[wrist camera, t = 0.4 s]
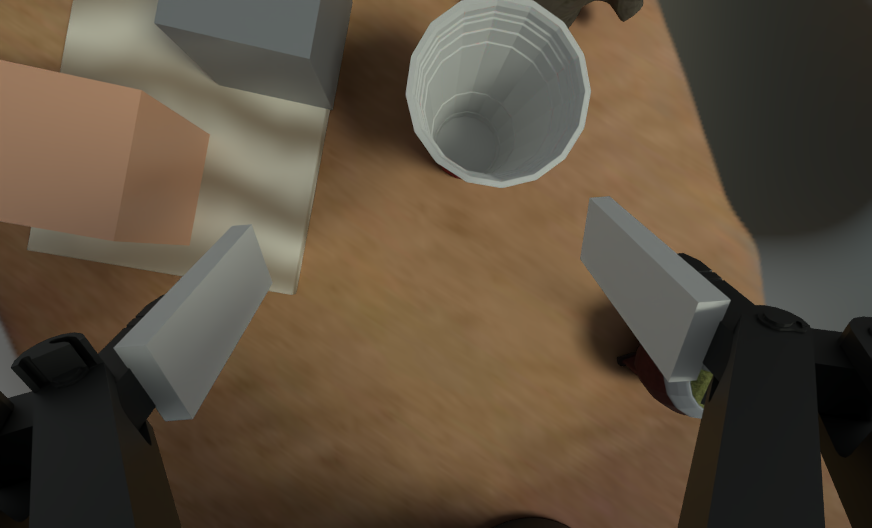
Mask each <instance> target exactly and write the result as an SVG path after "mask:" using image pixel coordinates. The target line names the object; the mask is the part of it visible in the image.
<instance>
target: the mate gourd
mask: <svg viewBox="0 0 872 528" xmlns="http://www.w3.org/2000/svg"><path fill="white" fill-rule="evenodd" d="M617 362H618V364H619V365H620V366H627V367H628V368H629V369H630V370H631V371H632V372H633V373H635V374H636V375H637V376H638V377H639V379H640V381H641V382H642V383H643V385H644V386H645V387H646V389H647V390H648V391H649V393H650V394H651V395H652V396H653V397H654V398H655V399H656V400H658V401H659V402H660V403H662V404H663V405H665V406H666V407H668V408H670V409H671V410H673V411H675V412H677V413H679V414H683V415H687V416H690V417H694V418H700V419H701V418H702V414H703V409H704V405H703V404H700V403H701V401H702V398H703V396H704V394H705V392H706V390H707V388H708V385H709V383H710V381H711V379H712V377H713V374H712V373H711V372H710V371H709V370H708V369H707V367H706V366H705V365H704V364H703V366H702V368H701V371H700V373H699V375H698V378H697V380H693V381H680V382H668V381H667V380H666V378H665V377H664V375H663V374H662V373H661V371H660V370H659V368H658V367H657V366H656V364H655V363H654V361H653V360H652V359H651V357H650V356H649V354H648V353H647V352H646V350H645V349H644V347H643V346H642V345H641V344H640V345H639V347H638V349H637V352H635V353H631V354H627V355H623V356H620V357H617Z"/></svg>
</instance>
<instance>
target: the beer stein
mask: <svg viewBox="0 0 872 528" xmlns="http://www.w3.org/2000/svg"><path fill="white" fill-rule="evenodd" d="M533 1H535V2H536V3H538V4H539V5H541V6H542V7H543V8H545V9H546V10H547V11H549V12H550V13H552V14H553V15H554V16H556V17H557V18H559V19H560V20H561V21H563V22H564V23H565V25H566V26H567V28H569V27H570V26H571V25H572V23H573V22H574V20H575V19H576V17H577V16H578V14H579V12H580V10H581V8H582V7H583V6H584V5H586V4H588V3H590V2H592V1H604V2H607V3H608V4H610V5H611V7H612V8H613V9H614V11H615V12H616V14H617V15H618V17H619V19H620V20H621V21H623V22H624V21H626V20H628V19H629V18H631V17H632V16H634V15H635V14H636V13H637V12H638V11H639V10H640V9H641V7H642V6H643V0H533Z"/></svg>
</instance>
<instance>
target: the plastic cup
mask: <svg viewBox="0 0 872 528" xmlns="http://www.w3.org/2000/svg"><path fill="white" fill-rule="evenodd" d="M590 94H591V89H590V84H589V78H588V73H587V68H586V62H585V57H584V54H583V52H582V50H581V49H580V47H579V46H578V44H577V42H576V41H575V39H574V37H573V36H572V34H571V33H570V31H569V29H568V28H567V26H566V25H565V23H564V22H563V21H561V20H560V19H559V18H557V17H556V16H554V15H553V14H552V13H550V12H549V11H547V10H546V9H545V8H543V7H542V6H541V5H539V4H538V3H536V2H535V1H533V0H462V1H460V2H459V3H457V4H456V5H455V6H453V7H452V8H450V9H449V10H448V11H446V12H445V13H444V14H442V15H441V16H439V17H438V18H437V19H435V20H434V21H433V22H431V23H430V25H429V27H428V28H427V30H426V32H425V33H424V35H423V37H422V39H421V40H420V42H419V44H418V45H417V47H416V49H415V50H414V52H413V54H412V55H411V61H410V68H409V75H408V81H407V88H406V98H407V102H408V106H409V111H410V115H411V119H412V123H413V127H414V132H415V133H416V134H417V136H418V137H419V139H420V140H421V142H422V143H423V144H424V146H425V147H426V149H427V150H428V152H429V153H430V154H431V156H432V157H433V159H434V160H435V161H436V163H438V164H439V165H440V166H441V167H442V169H443V170H444V171H445V172H447V173H448V174H450V175H452V176H453V177H455V178H459V179H463V180H464V181H466V182H470V183H476V184H481V185H487V186H493V187H499V188H504V187H508V186H512V185H517V184H521V183H525V182H529V181H534V180H537V179H538V178H539V177H541V176H542V175H544V174H545V173H546V172H548V171H549V170H550V169H552V168H553V167H554V166H556V165H557V164H559V163H560V162H561V161H563V160H564V159H565V158H566V156H567V155H568V153H569V151H570V150H571V148H572V147H573V145H574V143H575V142H576V140H577V139H578V137H579V135H580V134H581V132H582V131H583V129H584V126H585V121H586V115H587V110H588V104H589V99H590Z"/></svg>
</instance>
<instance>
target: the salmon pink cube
mask: <svg viewBox="0 0 872 528" xmlns="http://www.w3.org/2000/svg"><path fill="white" fill-rule="evenodd" d="M209 137H210V134H208V133H207V132H205V131H204V130H202V129H201V128H199V127H198V126H196V125H194V124H193V123H191V122H190V121H188V120H187V119H185V118H184V117H182V116H181V115H179V114H178V113H176V112H174V111H173V110H171V109H170V108H168V107H167V106H165V105H164V104H162V103H161V102H159V101H158V100H156V99H154V98H153V97H151V96H150V95H148V94H147V93H145V92H144V91H142V90H139V89H134V88H129V87H125V86H120V85H115V84H111V83H106V82H101V81H97V80H92V79H87V78H83V77H78V76H73V75H69V74H64V73H59V72H55V71H50V70H45V69H41V68H36V67H31V66H27V65H22V64H17V63H13V62H8V61H3V60H0V221H1V222H6V223H12V224H18V225H23V226H29V227H35V228H41V229H46V230H52V231H58V232H63V233H69V234H75V235H81V236H86V237H92V238H98V239H103V240H109V241H117V242H135V243H152V244H170V245H187V246H190V240H191V235H192V229H193V224H194V219H195V213H196V208H197V202H198V197H199V192H200V186H201V181H202V175H203V170H204V164H205V159H206V154H207V148H208V143H209Z"/></svg>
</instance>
